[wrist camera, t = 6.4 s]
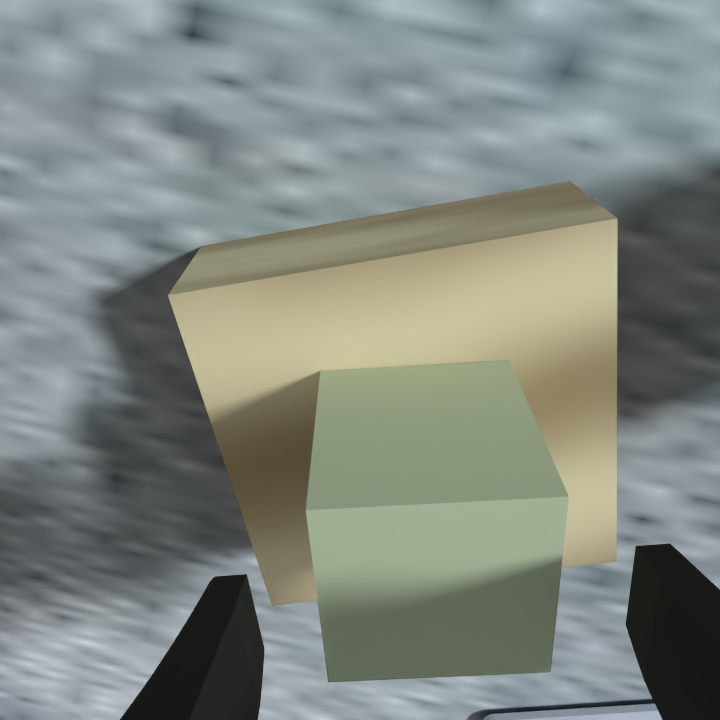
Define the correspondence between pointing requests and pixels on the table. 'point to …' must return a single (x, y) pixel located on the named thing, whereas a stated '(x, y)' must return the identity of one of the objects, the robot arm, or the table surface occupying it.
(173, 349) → the table surface
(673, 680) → the robot arm
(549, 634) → the green block
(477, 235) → the birch block
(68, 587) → the table surface
